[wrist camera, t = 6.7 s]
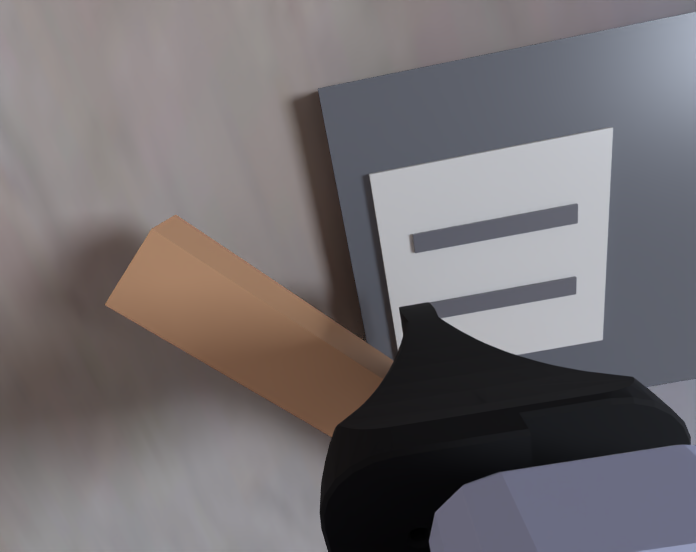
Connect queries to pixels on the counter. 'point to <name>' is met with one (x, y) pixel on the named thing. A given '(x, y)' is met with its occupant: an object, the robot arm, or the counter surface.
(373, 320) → the panel
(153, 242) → the bar
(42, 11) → the counter surface
